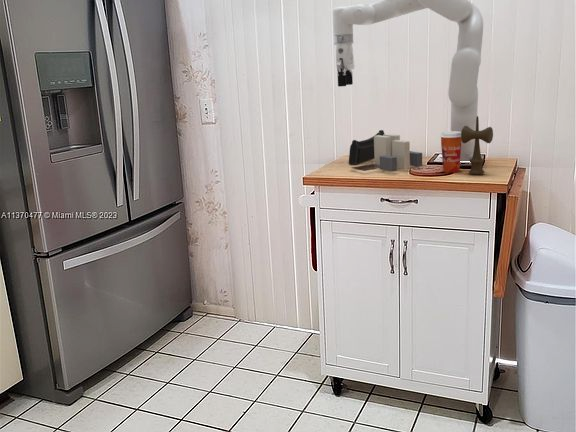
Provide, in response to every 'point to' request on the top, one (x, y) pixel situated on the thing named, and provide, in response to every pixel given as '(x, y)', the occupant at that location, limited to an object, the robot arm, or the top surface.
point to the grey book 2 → (415, 159)
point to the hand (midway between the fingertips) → (345, 85)
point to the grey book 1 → (388, 163)
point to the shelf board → (367, 167)
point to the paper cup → (451, 151)
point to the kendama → (476, 145)
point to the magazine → (362, 150)
